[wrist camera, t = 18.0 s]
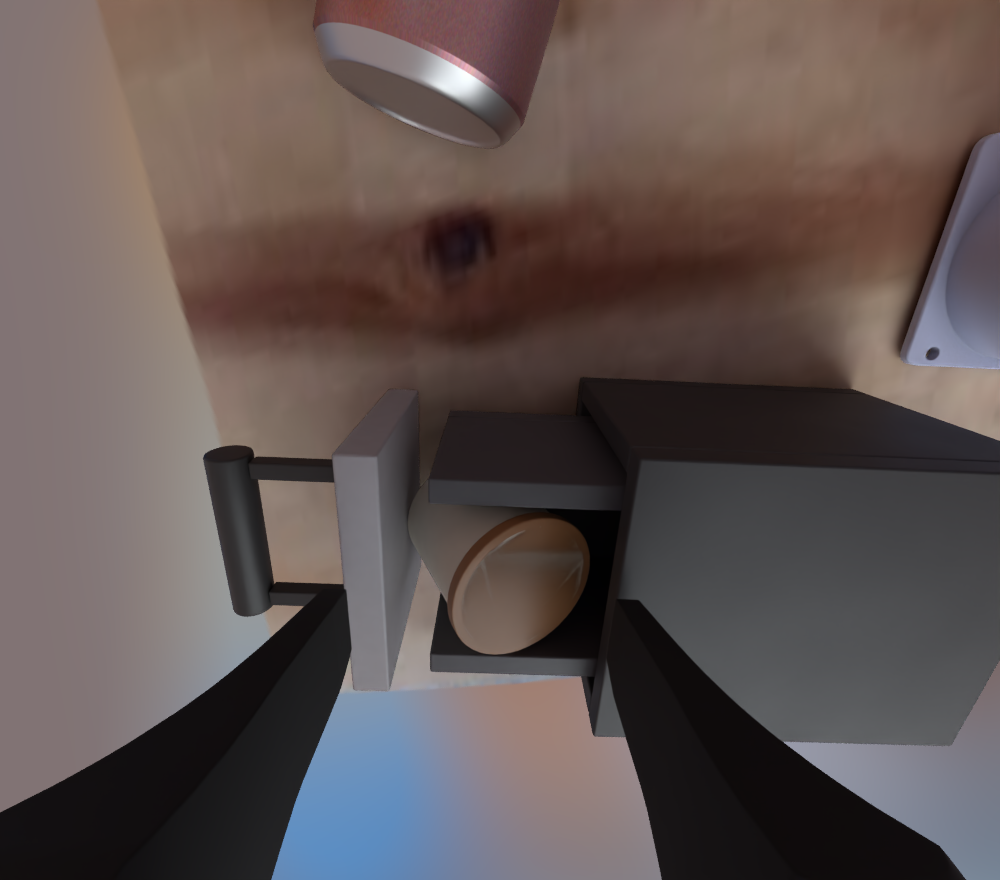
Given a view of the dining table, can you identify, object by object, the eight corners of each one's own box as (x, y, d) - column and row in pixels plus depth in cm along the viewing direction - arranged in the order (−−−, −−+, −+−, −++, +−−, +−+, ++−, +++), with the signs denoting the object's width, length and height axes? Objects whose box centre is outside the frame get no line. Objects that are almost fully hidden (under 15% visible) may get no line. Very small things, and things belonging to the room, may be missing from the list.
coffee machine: (558, 568, 23) (592, 737, 15) (579, 377, 19) (639, 458, 11) (791, 577, 23) (951, 747, 15) (853, 389, 19) (1105, 477, 11)
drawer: (289, 560, 21) (200, 686, 15) (264, 382, 18) (139, 446, 12) (620, 572, 22) (671, 700, 15) (648, 399, 19) (728, 469, 12)
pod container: (520, 447, 18) (599, 504, 14) (511, 550, 20) (580, 628, 16) (400, 463, 16) (453, 536, 12) (402, 577, 18) (450, 675, 14)
